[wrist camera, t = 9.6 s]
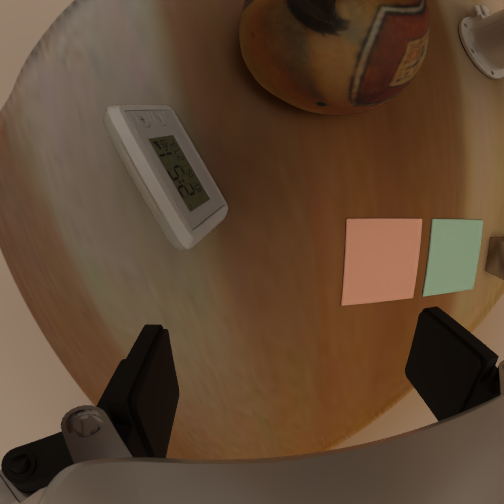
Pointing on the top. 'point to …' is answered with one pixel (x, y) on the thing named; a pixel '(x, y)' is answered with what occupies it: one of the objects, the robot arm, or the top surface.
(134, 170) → the digital clock
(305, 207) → the top surface
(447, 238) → the mat
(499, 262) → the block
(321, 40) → the ceramic pitcher
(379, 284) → the mat
